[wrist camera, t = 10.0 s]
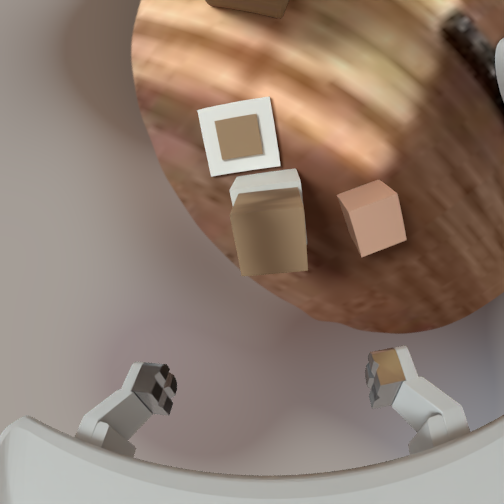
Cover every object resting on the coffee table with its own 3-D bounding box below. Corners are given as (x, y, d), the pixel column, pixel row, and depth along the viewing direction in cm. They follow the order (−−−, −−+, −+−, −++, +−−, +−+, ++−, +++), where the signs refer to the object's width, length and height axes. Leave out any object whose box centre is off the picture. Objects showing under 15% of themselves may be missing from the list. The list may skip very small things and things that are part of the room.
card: (269, 96, 23) (269, 96, 22) (280, 165, 26) (280, 166, 26) (198, 110, 24) (196, 110, 23) (212, 175, 27) (210, 177, 27)
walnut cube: (297, 187, 22) (303, 207, 18) (302, 240, 25) (307, 270, 20) (238, 193, 23) (229, 215, 19) (247, 245, 25) (241, 276, 21)
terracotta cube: (378, 179, 26) (397, 193, 22) (389, 219, 28) (406, 239, 24) (336, 194, 27) (348, 211, 23) (349, 234, 29) (361, 257, 25)
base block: (295, 168, 26) (300, 180, 22) (302, 222, 29) (307, 244, 25) (236, 176, 27) (229, 190, 23) (247, 229, 30) (242, 252, 26)
